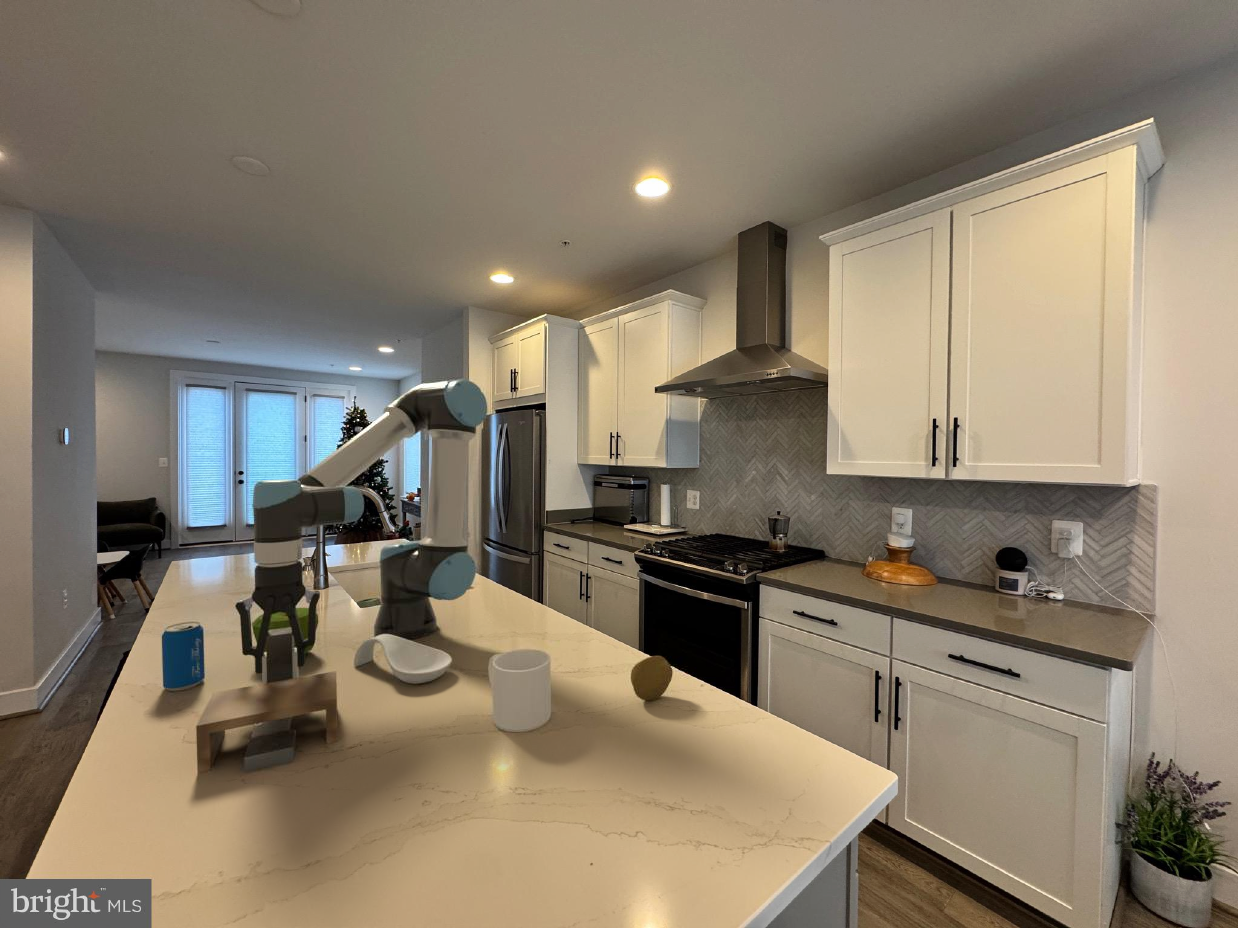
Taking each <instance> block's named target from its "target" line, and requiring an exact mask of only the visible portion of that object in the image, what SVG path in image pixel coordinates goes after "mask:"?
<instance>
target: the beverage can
mask: <svg viewBox="0 0 1238 928" xmlns="http://www.w3.org/2000/svg"><path fill="white" fill-rule="evenodd" d="M204 634H205V633H204V627H203V626H202V625H201V622H200V621H185V622H180V623H173V624H171V625H169V626H166V627H165V628H164V632H163V633H162V635H161V664H162V687H163V688H164V689H167V690H169V691H172V692H178V691H184V690H188V689H192V688H193V687H197V685H199V684H200V683H201V682H202V681H203V680H204V679H205V673H206V672H205V645H204V644H205V643H204V642H205V637H204V636H205V635H204Z"/></svg>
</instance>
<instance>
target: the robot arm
mask: <svg viewBox="0 0 1238 928" xmlns="http://www.w3.org/2000/svg"><path fill="white" fill-rule="evenodd" d="M487 415H488V402H487V398H486V396H485V394H484V392H483V391H482V390H481V388H480V387H479V386H478V385H477V384H476V383H475V382H474V381H471V380H469V379H468V380H467V379H456V378H455V379H454V378H453V379H450V380H444V381H434V382H431V381H430V382H425V383H424V382H423V383H421V384H419V385H415V386H414V387H413V388H411V389H409V390H408V391H406V392H405V393H403V394H402V395H401V396H399V397H398V398H397V399H395V400H394V401H393V402H391V403H390V404H388V405H387V406H386V407H385V408H384V409H383V414H382V415H381V416H380V417H378V418H377V419H375V420H374V421H373V422H372V423H371V424H369V425H368V426H366V427H364V428H363V429H362V430H361V431H360V432H358V433H357V434H356V435H354V436H353V437H352V438H350V439H349V440H348V441H346V443H344V444H343V445H342V446H340V447H339V448H337V449H336V450H334V451H333V452H332V453H331V454H330V455H328V456H327V457H326V458H325V459H323V460H321V461H320V462H319V463H317V464H316V465H314V466H313V467H312V468H311V469H310V470H308V471H307V472H306V473H305V474H303V475H301V476H300V477H298V479H266V480H265V479H264V480H260V481H257V482H256V483H255V485H254V488H253V495H252V509H253V511H252V512H253V527H254V528H253V529H254V531H253V532H254V533H253V534H254V535H253V537H254V538H253V539H254V541H253V549H254V550H253V553H254V555H253V556H254V558H253V559H254V563H255V564H256V566H255V567H254V590H253V592H252V594H251V596H248V597H246V598H241V599H238V601H237V602H236V604H235V609H236V610H237V613H238V614H239V618H240V634H241V635H240V636H241V638H240V639H241V651H242V652H241V653H242V655H243V656H252V657H253V658H254V671H255V674H256V675H259V674H261V675H262V678H261V679H262V684H266V683H267V660H266V652H264V649H265V643H266V635H267V633H268V630H269V625H270V621H271V616H272V614H275V613H278V612H282V613H286V612H287V616H288V618H289V622H290V625H291V629H292V633H293V637H294V640H295V644H296V648H293V652H292V658H293V679H294V678H300V677H299V673H300V672H299V668H302V667H304V666H305V662H306V654H305V649H306V648H307V647H309V646H312V645H314V646H315V643H316V636H317V635H316V633H317V629H316V613H317V605H318V602H319V600H320V598H321V592H320V591H319V590H315V591H312V590H308V589H307V588H306V586H305V585H304V583H303V582H304V579H303V578H304V577H303V562H302V561H301V560H302V558H303V529H304V528H311V527H320V526H329V525H337V524H338V525H339V524H340V525H341V524H342V525H345V524H346V523H351V522H355V521H358V520H359V519H360V518H361V517H362V515H363V513H364V510H365V500H364V496H363V494H362V492H361V491H360V489H358V488H357V487H355V486H348V485H349V484H350V483H351V482H352V481H354V480H355V479H356V478H357V477H358V476H360V475H361V474H362V473H364V472H365V471H366V470H367V469H369V467H372V465H373V464H374V463H376V462H377V461H378V460H379V459H380V458H382V457H383V456H384V455H385V454H387V453H388V452H389V451H390V450H392V449H393V448H394V447H395V446H396V445H398V444H399V443H400V442H401V441H403V440H404V439H410V438H413V437H414V436H415V435H416V434H418V433H419V432H421V431H424V430H427V431H426V432H427V433H428V434H429V435H430V436H431V438H432V451H431V462H430V463H431V464H430V478H429V492H428V503H427V504H428V505H427V515H426V527H425V529H426V530H425V536H424V537H423V538H422V539H421V540H412V541H405V542H397V543H393V544H388V545H387V544H386V545H384V546H383V547H382V548H381V550H380V556H379V565H380V567H379V568H380V572H379V573H380V606H379V610H378V613H377V616H376V619H375V622H374V624H373V625H374V626H373V634H374V638H375V637H376V636H378V635H382V634H390V635H394V636H398V637H401V638H404V639H407V640H411V639H416V638H420V637H423V636H427V635H428V634H431V633H433V632H434V631H435V630H436V629H437V625H438V624H437V623H438V622H437V616H436V613H435V611H434V607H433V605H432V602H431V600H430V599H431V598H432V599H433V600H438V601H442V600H443V601H454V600H457V599H459V598H461V597H462V596H464V595H465V594H466V593H467V591H468V590H469V589H470V588H471V587H472V585H473V583H474V581H475V577H476V574H477V573H476V572H477V567H476V561H475V560H474V558H473V557H472V556H471V555H470V554H468V547H469V545H468V542H467V541H466V540H465V539H464V538H463V531H464V530H463V529H464V528H463V527H464V526H463V525H464V517H465V516H464V513H465V503H466V502H465V501H466V487H467V472H468V463H469V462H468V459H469V450H470V449H469V448H470V447H469V446H470V442H471V441H472V440H473V439H474V438H475V437H476V436H477V435H476V434H477V427H478V426H479V425H481V424H483V422H484V420H485V419H486V417H487ZM303 597H305V601H306V603H307V604H309V605H308V608H309V612H308V638H307V639H305V640H304V637H303V634H302V630H301V626H300V623H299V619H298V615H297V610H296V608H297V607H296V606H297V605H298V604H299V603H300V601H301V600H302V599H303ZM253 603H255V604H256V605H257V606H258V607H259V608H260V609H261V611H263V618H262V623H261V627H260V632H259V636H258V641H257V642H256V645H253V637H252V636H253V633H252V620H251V617H252V616H251V609H252V608H253Z"/></svg>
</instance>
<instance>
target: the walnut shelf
mask: <svg viewBox="0 0 1238 928" xmlns="http://www.w3.org/2000/svg"><path fill="white" fill-rule="evenodd" d="M337 688H338V687H337V670H334V671H329V672H323V673H319V674H318V673H317V674H311V675H307V676H306V675H305V676H300V677H299V678H294V679H288V680H283V681H277V682H271V683H266V684H263V683H261V684H254V685H250V686H249V685H248V686H245V687H244V686H243V687H238V688H232V689H227V690H222V691H221V690H220V691H216V692H213V693H211V696H210V698H209V700H208V702H207V704H206V706H205V708H204V710H203V712H202V714H201V715H200V718H199V720H198V721H197V723H196V726H195V729H196V731H195V733H196V735H195V736H196V763H197V765H196V766H197V767H196V769H197V770H196V771H197V772H196V773H197V774H200V773H201V774H202V773H206V772H210V771H211V769H212V767H213V765H214V762H215V759H216V756H217V754H218V752H219V749H220V746H221V744H222V741H223V738H224V736H225V734H226V731H228V730H229V731H230V730H233V729H237V728H242V727H247V726H252V725H255V724H258V723H263V722H268V721H272V720H277V719H282V718H287V717H292V718H293V717H296V716H297V717H298V716H301V715H306V714H310V713H316V712H319V711H325V722H326V723H325V725H326V734H325V735H326V744H330V743H335V742H337V741H338V697H337V696H338V695H337V694H338V693H337V692H338V691H337Z"/></svg>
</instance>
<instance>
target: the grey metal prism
mask: <svg viewBox="0 0 1238 928" xmlns="http://www.w3.org/2000/svg"><path fill="white" fill-rule="evenodd" d="M293 648H294V637H293V633H292V629H291V627H288V628H281V629H273V630H269V631H268V633H267V635H266V660H267V683H271V682H277V681H283V680H288V679H293V658H292V652H293ZM292 720H293V716H292V717H287V718H282V719H277V720H272V721H268V722H263V723H258V724H254V728H253V732H252V733H251V734H252V735H251V737H250V738H253V737H258V736H263V735H268V734H272V733H277V732H282V731H286V730H291V724H292Z"/></svg>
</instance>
